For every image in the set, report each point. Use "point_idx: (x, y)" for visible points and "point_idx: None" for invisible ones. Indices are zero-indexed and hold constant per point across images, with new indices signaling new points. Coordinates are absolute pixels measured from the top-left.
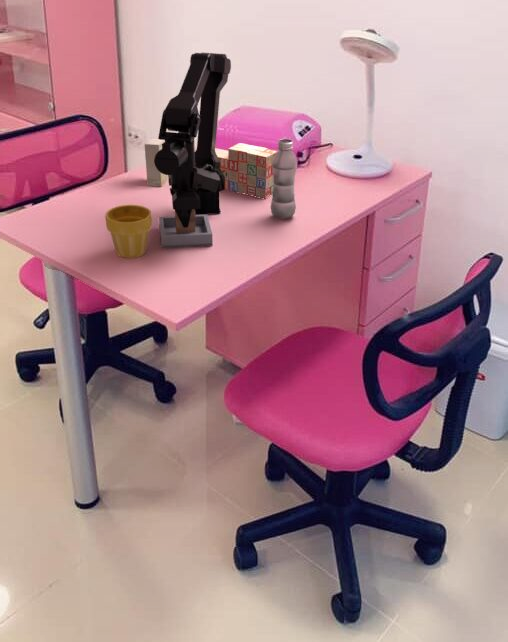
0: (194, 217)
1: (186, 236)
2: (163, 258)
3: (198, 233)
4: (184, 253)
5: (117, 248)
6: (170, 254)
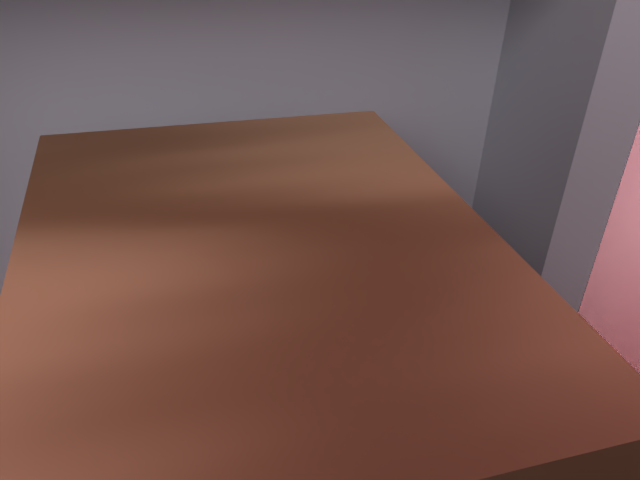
0: (514, 264)
1: (584, 247)
2: (629, 345)
3: (605, 89)
4: (622, 195)
5: None
6: (588, 307)
